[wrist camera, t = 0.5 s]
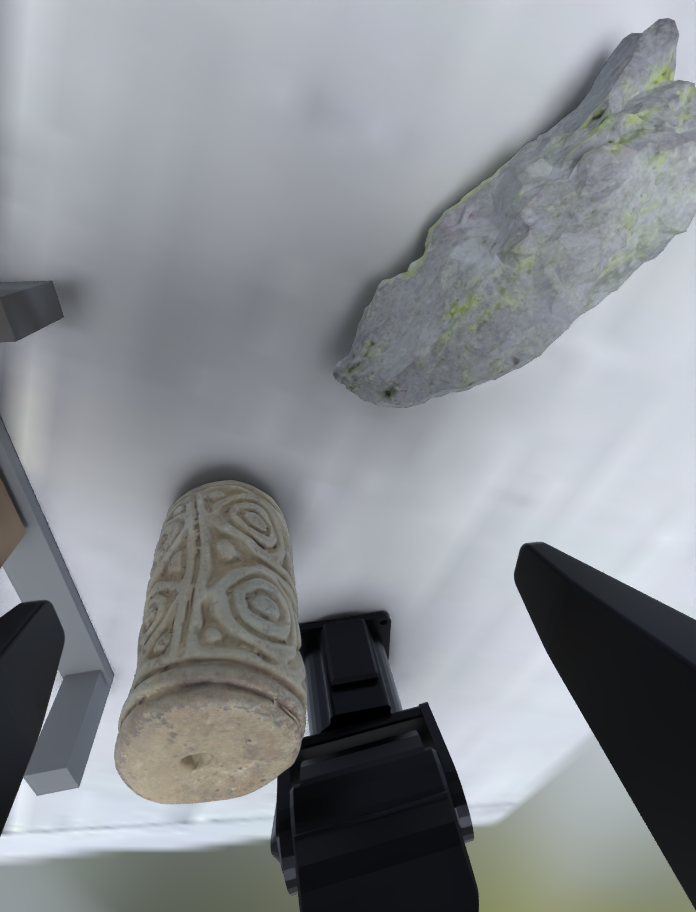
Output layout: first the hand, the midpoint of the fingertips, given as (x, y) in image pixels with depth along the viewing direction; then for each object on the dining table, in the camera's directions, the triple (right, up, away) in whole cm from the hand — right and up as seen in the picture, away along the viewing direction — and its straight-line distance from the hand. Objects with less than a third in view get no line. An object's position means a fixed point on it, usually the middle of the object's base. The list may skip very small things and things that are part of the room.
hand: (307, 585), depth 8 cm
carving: (-6, -1, +15) cm, 16 cm away
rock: (+7, +12, +11) cm, 18 cm away
